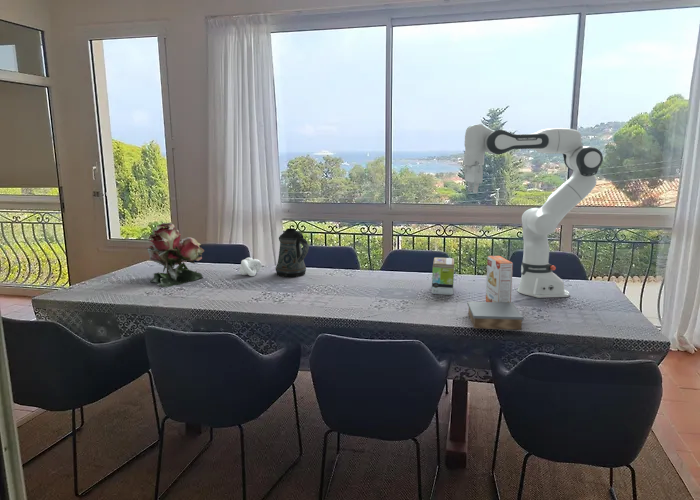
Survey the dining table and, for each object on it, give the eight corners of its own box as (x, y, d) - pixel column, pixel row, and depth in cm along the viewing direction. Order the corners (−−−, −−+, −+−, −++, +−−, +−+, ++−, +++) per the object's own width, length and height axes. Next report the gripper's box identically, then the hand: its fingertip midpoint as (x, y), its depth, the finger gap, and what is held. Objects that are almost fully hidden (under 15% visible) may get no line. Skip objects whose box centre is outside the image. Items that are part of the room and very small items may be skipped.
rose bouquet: (211, 276, 265) (208, 221, 259) (166, 288, 241) (161, 228, 235) (180, 270, 279) (176, 217, 273) (133, 281, 254) (128, 224, 249)
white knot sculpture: (233, 275, 266) (232, 259, 265) (249, 271, 276) (249, 255, 274) (248, 278, 260) (247, 261, 258) (264, 273, 270) (263, 257, 268)
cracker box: (484, 302, 216) (486, 255, 212) (498, 301, 217) (500, 255, 213) (496, 312, 203) (499, 262, 199) (510, 311, 203) (513, 262, 199)
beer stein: (280, 270, 278) (279, 226, 273) (314, 271, 275) (313, 226, 270) (271, 277, 262) (270, 230, 257) (307, 278, 259) (306, 231, 254)
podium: (512, 314, 200) (512, 302, 199) (522, 330, 182) (523, 317, 181) (466, 313, 201) (467, 301, 200) (473, 328, 184) (473, 315, 183)
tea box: (453, 295, 227) (454, 264, 224) (431, 294, 229) (432, 263, 226) (453, 286, 242) (454, 257, 239) (432, 285, 244) (433, 256, 241)
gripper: (487, 161, 211) (485, 194, 213) (475, 161, 231) (474, 190, 233) (472, 161, 211) (471, 194, 213) (462, 161, 231) (461, 190, 233)
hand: (472, 192), depth 224 cm, fingers open, 8 cm apart
